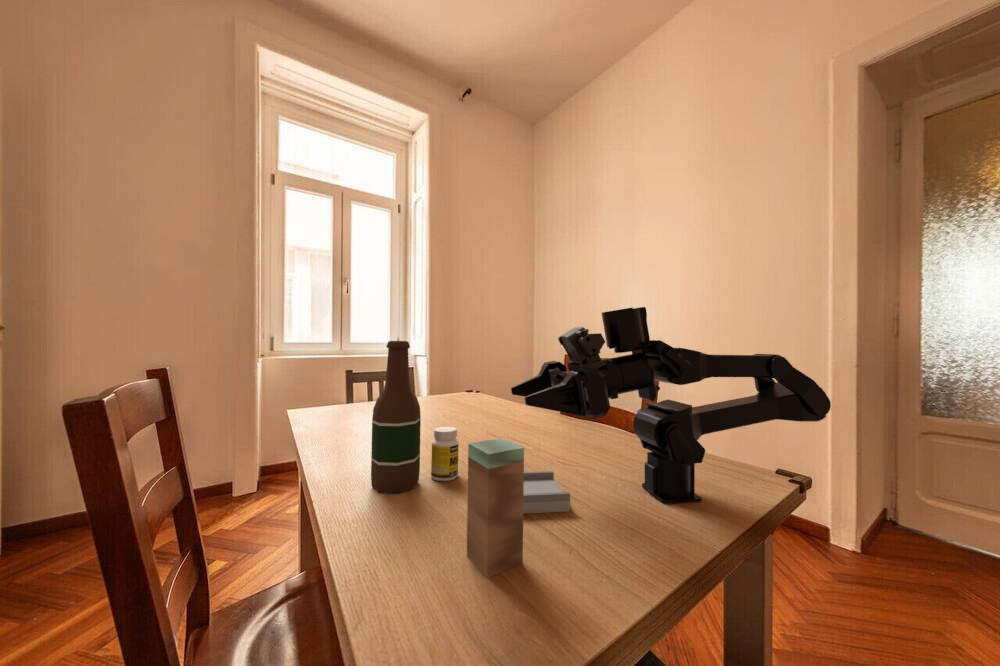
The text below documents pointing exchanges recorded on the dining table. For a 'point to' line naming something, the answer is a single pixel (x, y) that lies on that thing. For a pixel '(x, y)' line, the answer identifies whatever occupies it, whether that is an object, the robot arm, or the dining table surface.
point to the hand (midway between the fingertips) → (517, 395)
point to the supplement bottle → (444, 454)
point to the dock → (543, 494)
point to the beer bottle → (396, 427)
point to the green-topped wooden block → (495, 505)
